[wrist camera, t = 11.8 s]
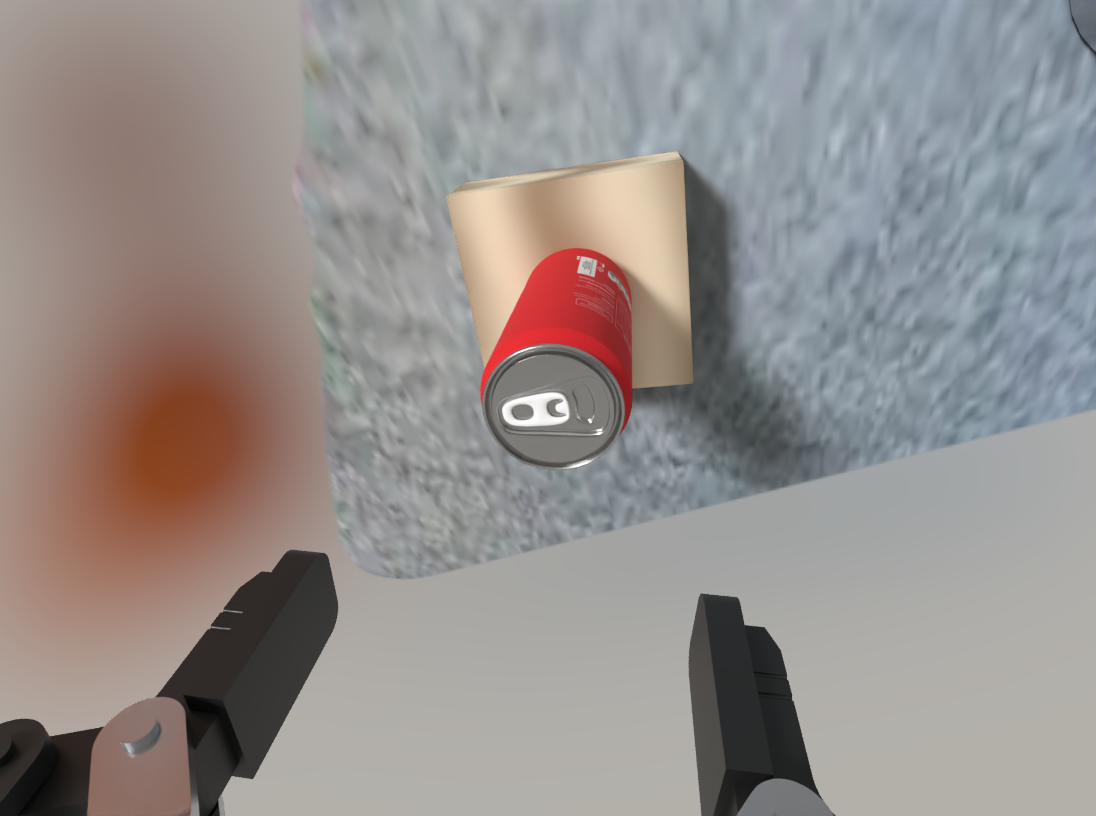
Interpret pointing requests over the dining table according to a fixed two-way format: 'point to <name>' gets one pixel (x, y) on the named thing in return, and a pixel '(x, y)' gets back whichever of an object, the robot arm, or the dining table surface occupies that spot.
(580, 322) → the beverage can
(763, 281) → the dining table surface
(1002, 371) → the dining table surface
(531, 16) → the dining table surface
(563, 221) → the beech block
